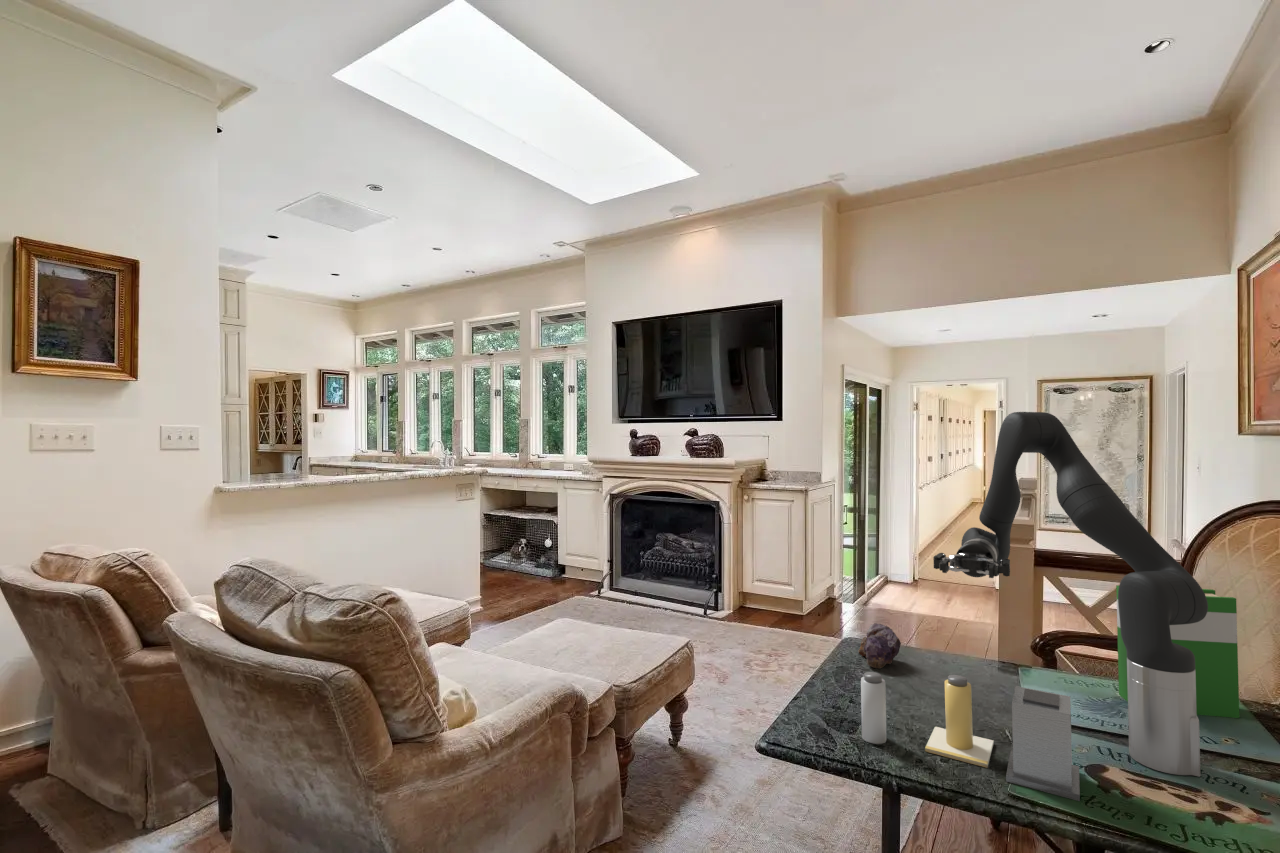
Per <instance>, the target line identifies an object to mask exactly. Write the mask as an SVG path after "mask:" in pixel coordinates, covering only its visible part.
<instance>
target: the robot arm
mask: <svg viewBox="0 0 1280 853" xmlns="http://www.w3.org/2000/svg"><path fill="white" fill-rule="evenodd" d="M995 450H996V451H995V454H994V460H993V461H994V462H993V468H992V473H991V474H992V475H991V480H990V484H989V488H988V491H987V494H986V497H985V499H984V502H983V505H982V508H981V510H980V513H979V518H978V519H979V522H980V523H981V524H982V525H983V526H984V527H986V528H987V529H989V530H991V531H992V532H990V531H988V530H985V529H982V528H980V527H975V526H974V527H970V528H968V529H967V530H966V531H965V532H964V533H963V534H962V535H963V536H962V538H961V546H960V548H958V550H957V551H956V554H950V555H949V556H947V555H946V553H944V552H939V553H937V554H935V555H934V556H933V557H932V558H933V569H935V570H938V569H939V571H942V573H943V574H947V573H948V572H949V571H950V572H951V571H952V572H955V573H956V572H962V573H964V574H965V575H966V576H968V577H972V578H982V577H986V576H988V578H989V579H993V578H994V577H998V576H1000V574H1002V576H1003V577H1010V575H1011V560H1010V559H1009V556H1010V554H1011V532H1012V527H1013V523H1014V520H1015V518H1016V515H1017V512H1018V511H1019V508H1020V506H1021V505H1020V504H1021V500H1022V496H1021V495H1022V493H1021V488H1020V485H1019V482H1018V478H1017V466H1018V462H1020V461H1019V460H1020V458H1021V456H1022V455H1023V453H1032V454H1036V453H1037V454H1040V455H1042V456H1044V457H1045V459H1047V462H1049V464H1050V465H1051V466H1052V468H1053V469H1054V470H1055V473H1056V498H1057V501H1058V503H1059V505H1060V507H1061V508H1062V510H1063V511H1064V512H1065V514H1066V515H1067V517H1068V518H1069V520H1071V522H1072V523H1073V524H1074V526H1075V527H1076V528H1077V529H1078V530H1079V531H1080V532H1081V533H1082V534H1084V535H1085V536H1087V537H1088V538H1090V539H1091V540H1093V541H1094V542H1096V543H1097V544H1099V545H1100V546H1102V547H1103V548H1105V549H1107V550H1109V552H1112V553H1113V554H1115V555H1117V556H1118V557H1119V558H1121V559H1122V560H1123V561H1125V563H1127V564H1128V565H1129V566H1130V567H1131V568H1132V569H1133V570H1134V572H1129V573H1127V574H1125V575H1124V576H1123V578H1122V579H1121V580H1120V582H1119V590H1118V606H1119V616H1120V629H1121V636H1122V640H1123V643H1124V645H1125V647H1126V651H1127V685H1128V702H1127V717H1128V720H1127V721H1128V723H1127V724H1128V726H1127V727H1128V754H1129V756H1130V757H1131V758H1132V759H1133V760H1134V761H1136V762H1137V763H1139V764H1140V765H1143V766H1145V767H1147V768H1149V769H1153V770H1155V771H1159V772H1162V773H1166V774H1171V775H1178V776H1193V777H1194V776H1195V777H1198V778H1199V777H1201V750H1200V749H1201V742H1200V739H1201V738H1200V720H1199V717H1198V715H1197V713H1196V674H1195V656H1194V654H1193V652H1192V651H1190V650H1189V649H1187V648H1186V647H1183V646H1181V645H1178V644H1175V643H1173V642H1172V640H1171V634H1170V625H1182V624H1191V623H1196V622H1199V621H1201V620H1203V619H1204V618H1205V616H1206V614H1207V612H1208V603H1207V599H1206V596H1205V593H1204V591H1203V590H1202V589H1203V588H1202V586H1201V585H1200V584H1199V582H1198V581H1197V579H1195V578H1194V577H1193V576H1192V575H1191V574H1190V572H1188V571H1187V569H1185V568H1184V567H1183V565H1181V564H1180V563H1179V562H1178V561H1177V560H1176V559H1175V558H1174V557H1173V556H1172V555H1171V554H1170V553H1169V552H1168V551H1167V550H1166V549H1165V548H1164V547H1163V546H1161V545H1160V543H1159V542H1158V541H1156V539H1155V538H1154V537H1153V536H1152V534H1150V533H1149V532H1148V530H1147V529H1146V528H1145V526H1143V525H1142V524H1141V523H1140V521H1139V520H1138V519H1137V518H1136V516H1134V514H1133V513H1132V512H1131V511H1130V510H1129V509H1128V507H1127V506H1126V504H1125V503H1124V502H1123V500H1122V499H1121V498H1120V497H1119V496H1118V495H1117V493H1116V492H1115V491H1114V489H1112V487H1111V486H1110V485H1109V484H1108V483H1107V482H1106V481H1105V479H1103V478H1102V476H1101V475H1100V474H1099V472H1097V470H1096V469H1095V468H1094V466H1093V465H1092V464H1091V463H1090V462H1089V460H1088V459H1087V457H1085V455H1084V454H1083V453H1082V451H1081V449H1080V448H1079V447H1078V446H1077V444H1076V442H1075V441H1074V439H1073V438H1072V436H1071V435H1070V433H1069V431H1068V430H1067V428H1066V427H1065V425H1064V424H1063V422H1062V421H1061V420H1060V419H1059V418H1058V417H1057V416H1055V415H1053V414H1052V413H1049V412H1045V411H1043V412H1041V411H1017V412H1016V411H1014V412H1011V413H1009V414H1008V415H1007V416H1005V418H1004V419H1003V421H1002V422H1001V425H1000V429H999V432H998V436H997V443H996V449H995Z"/></svg>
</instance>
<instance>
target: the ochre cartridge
mask: <svg viewBox="0 0 1280 853" xmlns="http://www.w3.org/2000/svg"><path fill="white" fill-rule="evenodd" d="M944 705H945V706H944V708H945V712H944V713H945V729H946V742H947V744H948V745H950V746H952V747H954V748H957V749H963V750H968V749H972V748H973V736H974V735H973V733H974V732H973V730H974V729H973V707H972V706H973V703H972V684H971V683H970V682H968V678H967V677H965V676H962V675H957V674H950V675H948V676H947V679H945V680H944Z"/></svg>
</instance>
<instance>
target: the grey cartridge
mask: <svg viewBox="0 0 1280 853" xmlns="http://www.w3.org/2000/svg"><path fill="white" fill-rule="evenodd" d="M886 695H887V694H886V680H885V679H884V678H883V676H882V674H880V673H879V672H876V671H875V672H874V671H866V672H864V673H863V676H862V677H861V678H860V699H861V700H860V703H861V704H860V705H861V707H860V708H861V709H860V710H861V712H860V713H861V739H862V740H863V741H865V742H866V743H870V744H874V745H875V744H876V745H881V744H885V743H886V742H887V703H886V701H887V697H886Z"/></svg>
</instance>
